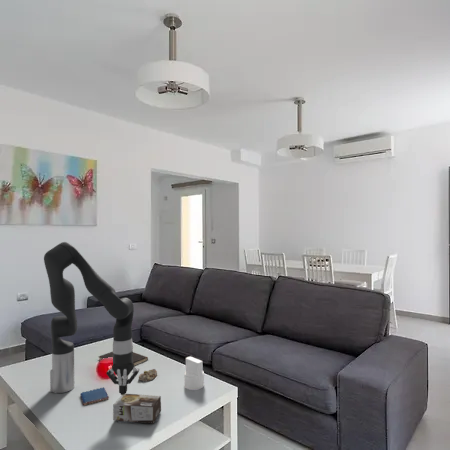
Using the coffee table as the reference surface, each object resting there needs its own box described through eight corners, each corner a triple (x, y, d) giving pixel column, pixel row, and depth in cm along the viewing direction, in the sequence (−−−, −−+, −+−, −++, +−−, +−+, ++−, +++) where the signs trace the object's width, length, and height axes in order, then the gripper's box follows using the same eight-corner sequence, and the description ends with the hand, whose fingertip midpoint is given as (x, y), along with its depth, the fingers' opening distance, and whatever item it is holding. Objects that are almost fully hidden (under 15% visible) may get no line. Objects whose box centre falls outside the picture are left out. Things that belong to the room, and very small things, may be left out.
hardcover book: (124, 371, 176) (124, 366, 176) (98, 360, 189) (98, 356, 189) (148, 360, 188) (148, 356, 188) (122, 351, 202) (122, 347, 202)
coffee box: (112, 421, 129) (153, 424, 127) (112, 404, 129) (153, 407, 127) (123, 408, 138) (161, 411, 136) (123, 392, 138) (161, 395, 136)
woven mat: (109, 400, 146) (109, 395, 146) (83, 407, 141) (83, 402, 141) (105, 390, 155) (105, 385, 155) (80, 396, 150) (79, 391, 150)
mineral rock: (147, 379, 160) (135, 371, 164) (145, 387, 161) (133, 379, 165) (162, 371, 169) (151, 364, 173) (161, 379, 170) (150, 371, 174)
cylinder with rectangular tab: (180, 385, 158) (180, 360, 158) (194, 379, 165) (194, 354, 165) (193, 392, 152) (193, 365, 152) (207, 385, 159) (207, 359, 159)
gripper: (102, 354, 130) (103, 399, 130) (137, 353, 130) (138, 398, 131) (108, 347, 137) (108, 389, 137) (141, 346, 138) (142, 388, 138)
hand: (123, 393), depth 134 cm, fingers closed
